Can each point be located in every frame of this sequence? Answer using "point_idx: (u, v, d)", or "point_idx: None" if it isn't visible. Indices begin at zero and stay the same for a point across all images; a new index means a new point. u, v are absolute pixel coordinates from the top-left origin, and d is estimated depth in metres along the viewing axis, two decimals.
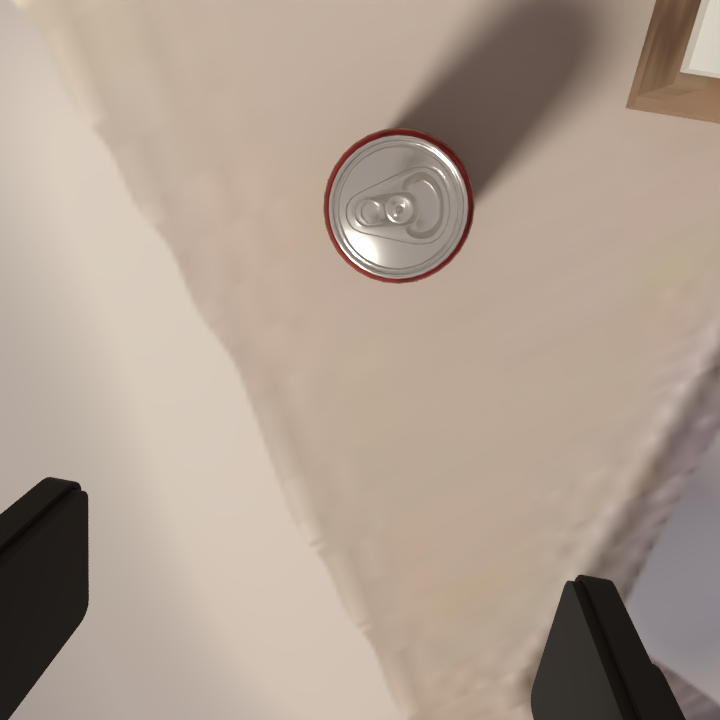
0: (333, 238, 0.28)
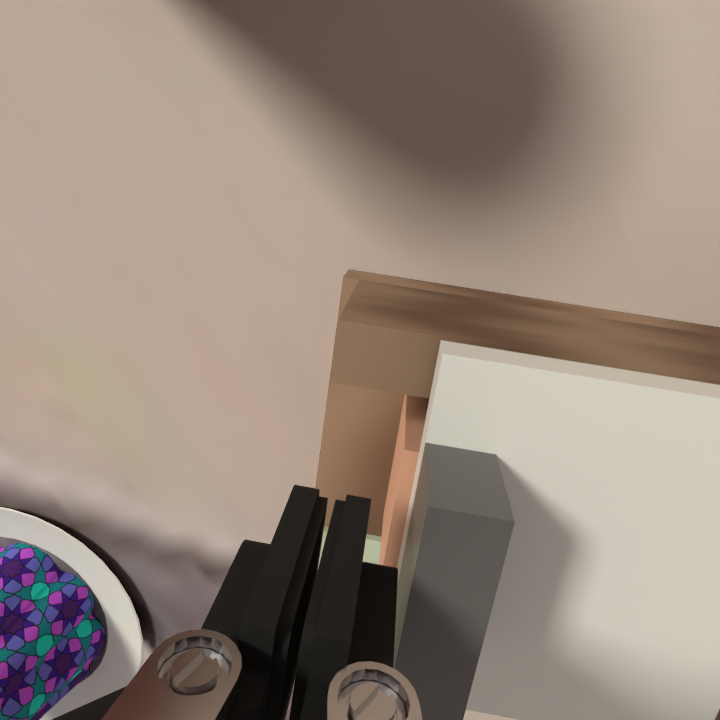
0: None
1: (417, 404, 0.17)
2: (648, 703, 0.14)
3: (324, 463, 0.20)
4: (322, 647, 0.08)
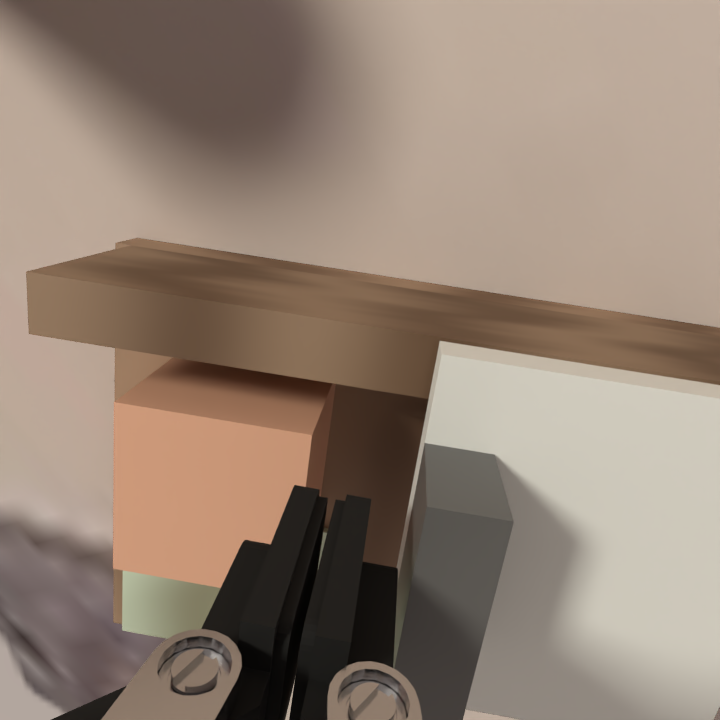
0: None
1: (175, 365, 0.17)
2: (648, 703, 0.14)
3: None
4: (322, 647, 0.08)
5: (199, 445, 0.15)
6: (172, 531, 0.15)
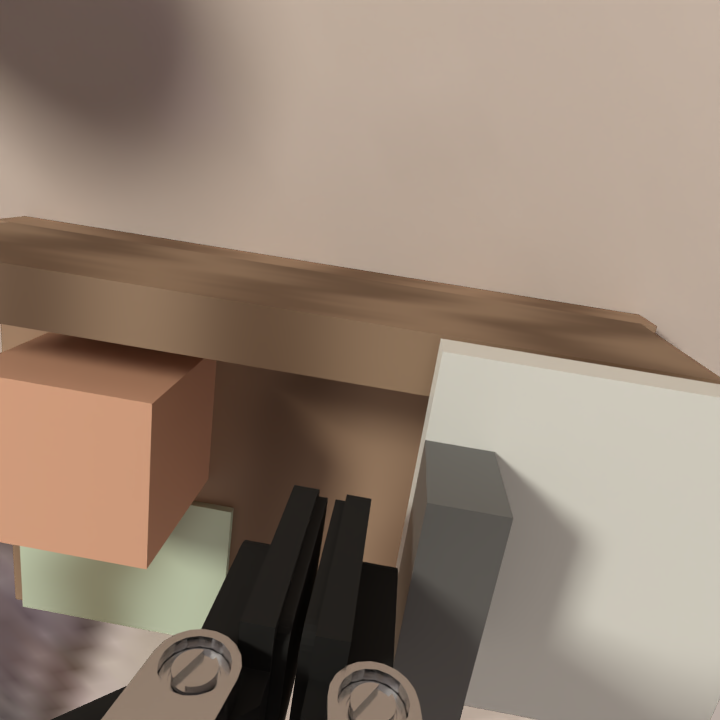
0: None
1: (45, 339, 0.18)
2: (645, 700, 0.14)
3: None
4: (322, 647, 0.08)
5: (45, 414, 0.15)
6: (27, 499, 0.16)
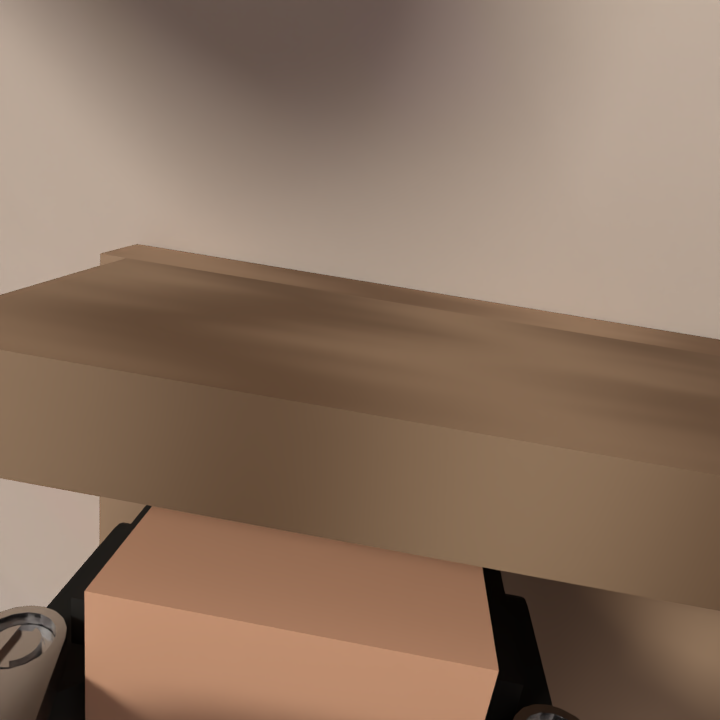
0: None
1: None
2: None
3: None
4: None
5: (258, 677, 0.07)
6: None
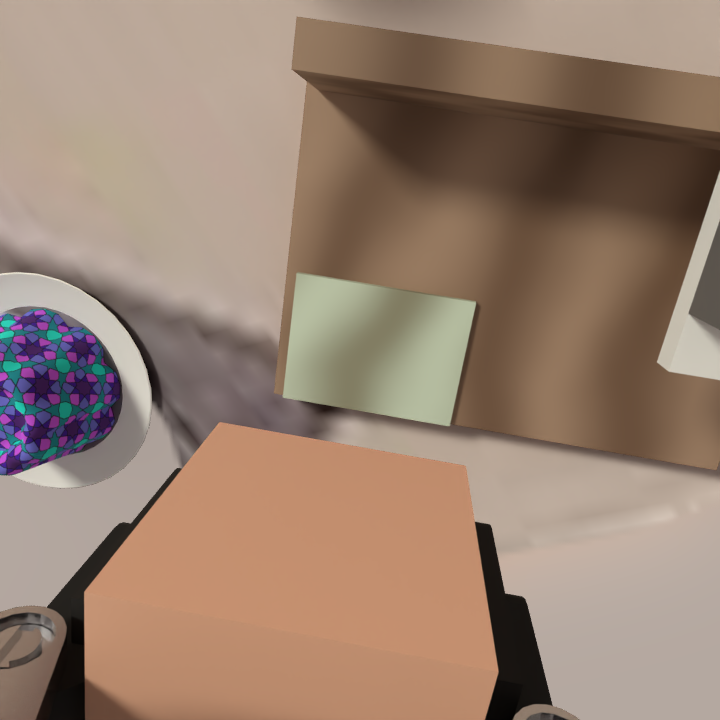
0: None
1: (201, 472, 0.10)
2: None
3: (297, 214, 0.25)
4: None
5: (259, 678, 0.07)
6: None
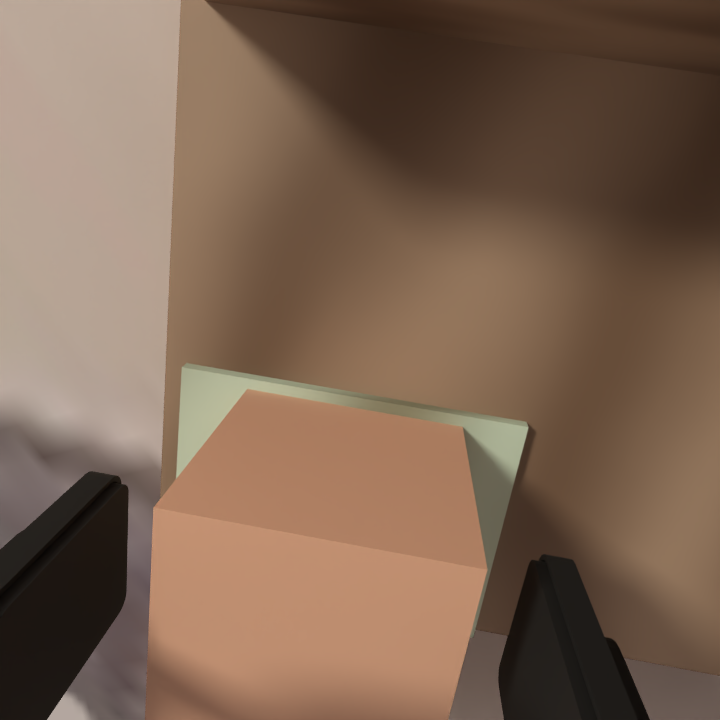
0: None
1: (236, 426, 0.12)
2: None
3: (179, 254, 0.13)
4: None
5: (294, 579, 0.09)
6: (241, 703, 0.10)
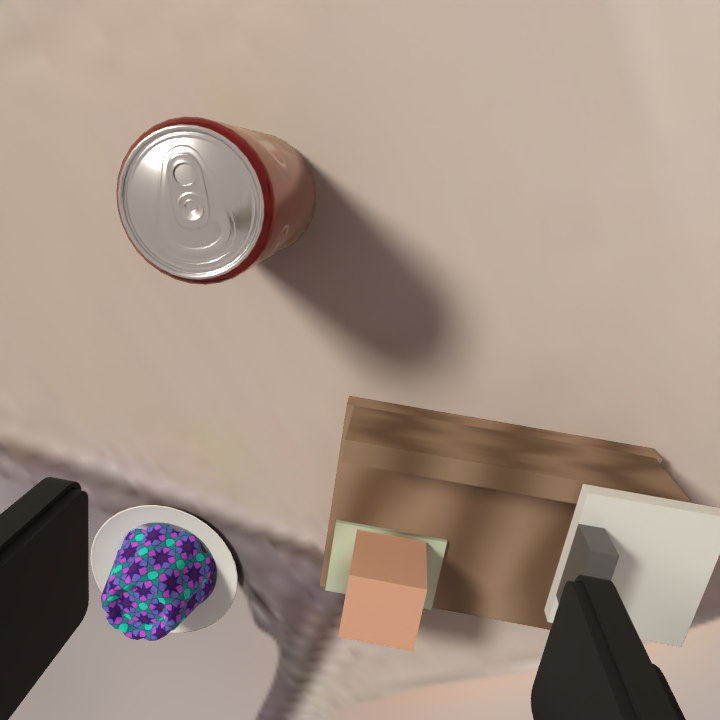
0: (153, 129, 0.25)
1: (358, 546, 0.40)
2: (660, 625, 0.34)
3: (337, 488, 0.41)
4: None
5: (381, 591, 0.37)
6: (366, 623, 0.38)
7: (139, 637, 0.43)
